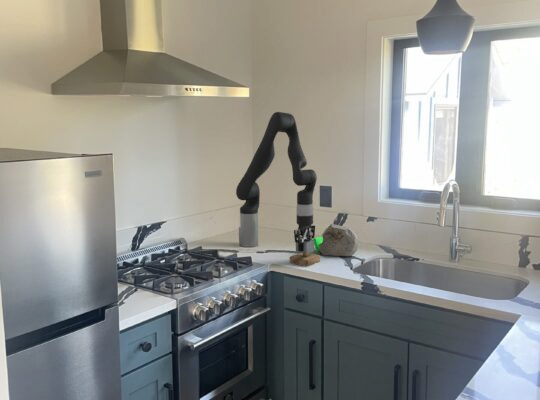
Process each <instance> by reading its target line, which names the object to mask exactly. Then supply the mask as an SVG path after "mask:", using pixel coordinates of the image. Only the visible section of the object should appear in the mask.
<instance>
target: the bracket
mask: <svg viewBox="0 0 540 400" xmlns="http://www.w3.org/2000/svg"><path fill="white" fill-rule="evenodd" d="M312 240H314V249H316V251H317V252H319V253H321V251H320V249H319V244H321V243H322V242H323V237H322V236H319V237H314V238H313V239H312Z"/></svg>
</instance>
